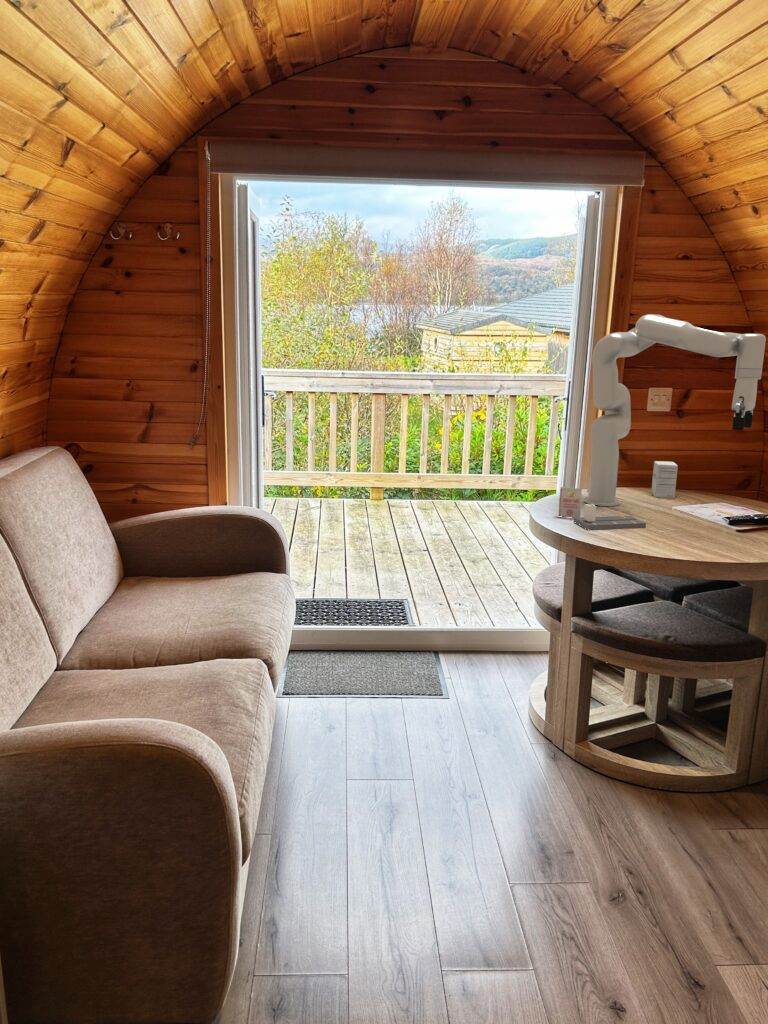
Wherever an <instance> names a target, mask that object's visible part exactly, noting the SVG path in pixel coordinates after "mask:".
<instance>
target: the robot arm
mask: <svg viewBox="0 0 768 1024" xmlns="http://www.w3.org/2000/svg"><path fill="white" fill-rule="evenodd" d="M766 340H767V339H766V336H765V335H764V334H762V333H737V332H730V331H729V332H728V331H727V332H722V331H721V332H720V331H716V330H710V329H706V328H705V329H704V328H701V327H698V326H695V325H692V323H691V322H688V321H686V320H680V319H675V318H669V317H665V316H664V315H662V314H653V313H649V314H645V315H642V316H641V317H639V319H638V320H637V321H636V323H635V327H633V328H631V329H630V330H628V331H626V332H625V331H623V332H622V331H616V332H611V333H609V334H606V335H605V336H603V337H602V338H600V339H599V340H598V342H597V343H596V344H595V346H594V348H593V352H592V358H591V360H592V361H591V362H592V363H591V364H592V387H593V388H592V395H593V397H592V398H593V404H594V406H595V408H596V409H597V410H599V411H602V412H604V415H601V416H598V417H597V418H595V420H594V421H593V422H592V424H591V427H590V442H591V443H590V445H591V447H590V450H591V451H590V467H589V480H588V488H587V489H586V492H587V494H588V495H587V496H585V497H583V501H584V502H586V503H588V504H593V505H599V506H598V507H616V506H618V505H620V502H621V501H620V500H619V499H618V498H616V494H617V483H618V471H619V457H620V451H619V450H620V449H619V447H620V446H619V440H620V439H623V438H625V437H626V436H627V435H628V434H629V433H630V430H631V425H632V419H631V417H632V415H631V413H632V412H631V411H632V409H631V394H630V391H629V389H628V387H627V386H626V385H624V384H623V383H620V382H619V369H618V365H617V359H618V358H629V357H634V356H635V355H637V354H639V353H641V352H643V351H644V350H646V349H648V348H650V347H651V346H653V345H654V344H656V343H658V344H661V345H666V346H669V347H674V348H678V349H680V350H685V351H690V352H694V353H697V354H701V355H705V356H709V357H715V358H726V357H735V356H737V357H736V364H735V365H736V366H735V373H734V379H736V380H735V381H736V382H735V385H734V390H733V395H732V402H731V410H732V411H733V412H734V414H733V420H732V428H731V429H732V430H733V431H744V428H749V429H750V428H752V425H753V419H754V418H753V416H754V415H753V414H754V409H755V407H756V401H757V393H758V392H757V391H758V382H759V381H758V380H761V379H762V375H763V374H762V373H763V366H764V365H763V364H764V358H765V357H764V355H765V349H766ZM583 501H582V502H583ZM584 502H583V503H584ZM586 503H585V504H586Z"/></svg>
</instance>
